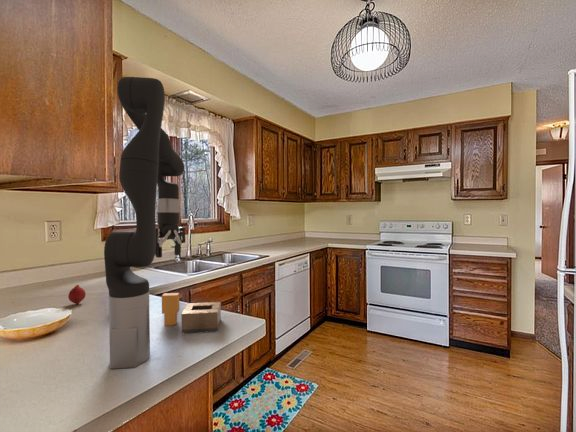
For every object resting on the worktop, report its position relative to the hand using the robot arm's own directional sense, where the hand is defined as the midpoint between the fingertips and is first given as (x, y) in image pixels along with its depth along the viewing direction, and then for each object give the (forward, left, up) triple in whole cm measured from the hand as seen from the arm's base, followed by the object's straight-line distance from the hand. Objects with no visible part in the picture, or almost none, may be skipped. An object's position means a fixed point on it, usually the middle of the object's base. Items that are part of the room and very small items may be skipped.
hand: (168, 256), depth 111 cm
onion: (+20, +41, -22) cm, 51 cm away
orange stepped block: (-8, -3, -22) cm, 23 cm away
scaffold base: (-12, -14, -22) cm, 28 cm away
